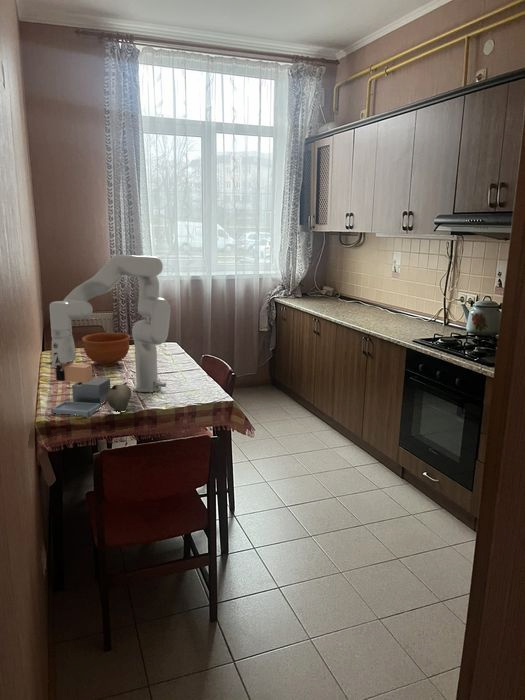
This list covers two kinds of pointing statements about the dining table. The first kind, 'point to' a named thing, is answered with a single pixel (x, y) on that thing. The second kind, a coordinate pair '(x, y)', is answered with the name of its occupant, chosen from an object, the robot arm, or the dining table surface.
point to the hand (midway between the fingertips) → (64, 378)
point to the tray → (76, 408)
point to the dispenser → (91, 391)
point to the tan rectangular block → (77, 372)
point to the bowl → (106, 347)
